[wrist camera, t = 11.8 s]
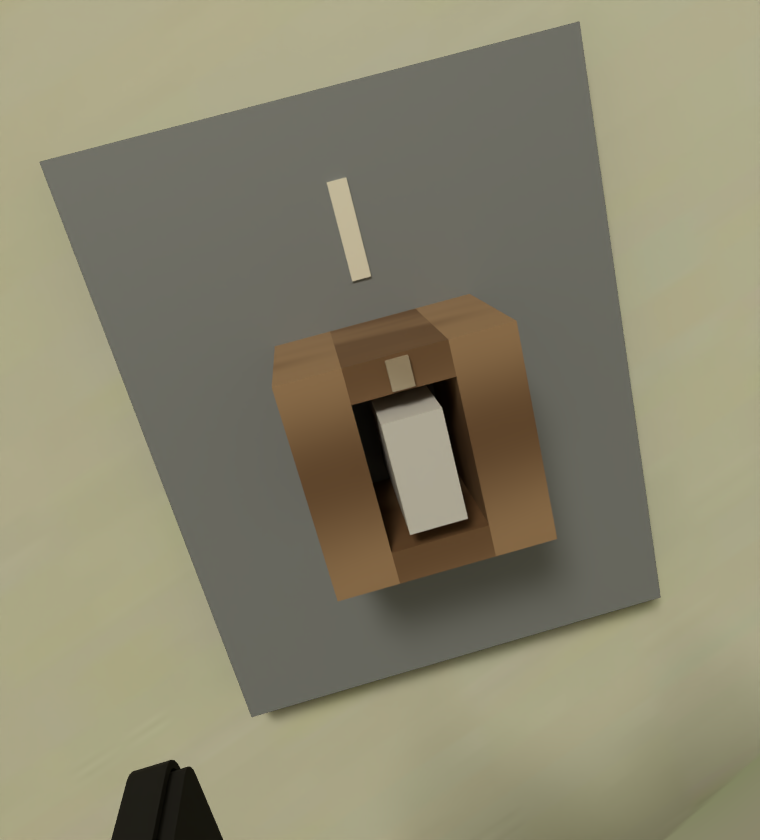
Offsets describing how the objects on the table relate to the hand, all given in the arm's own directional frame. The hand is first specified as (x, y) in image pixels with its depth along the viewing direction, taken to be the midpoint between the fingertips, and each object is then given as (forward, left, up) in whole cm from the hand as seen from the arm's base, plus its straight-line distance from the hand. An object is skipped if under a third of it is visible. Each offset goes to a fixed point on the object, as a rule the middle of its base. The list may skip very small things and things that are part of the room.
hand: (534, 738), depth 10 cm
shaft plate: (0, 0, -16) cm, 16 cm away
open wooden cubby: (0, 0, -15) cm, 15 cm away
